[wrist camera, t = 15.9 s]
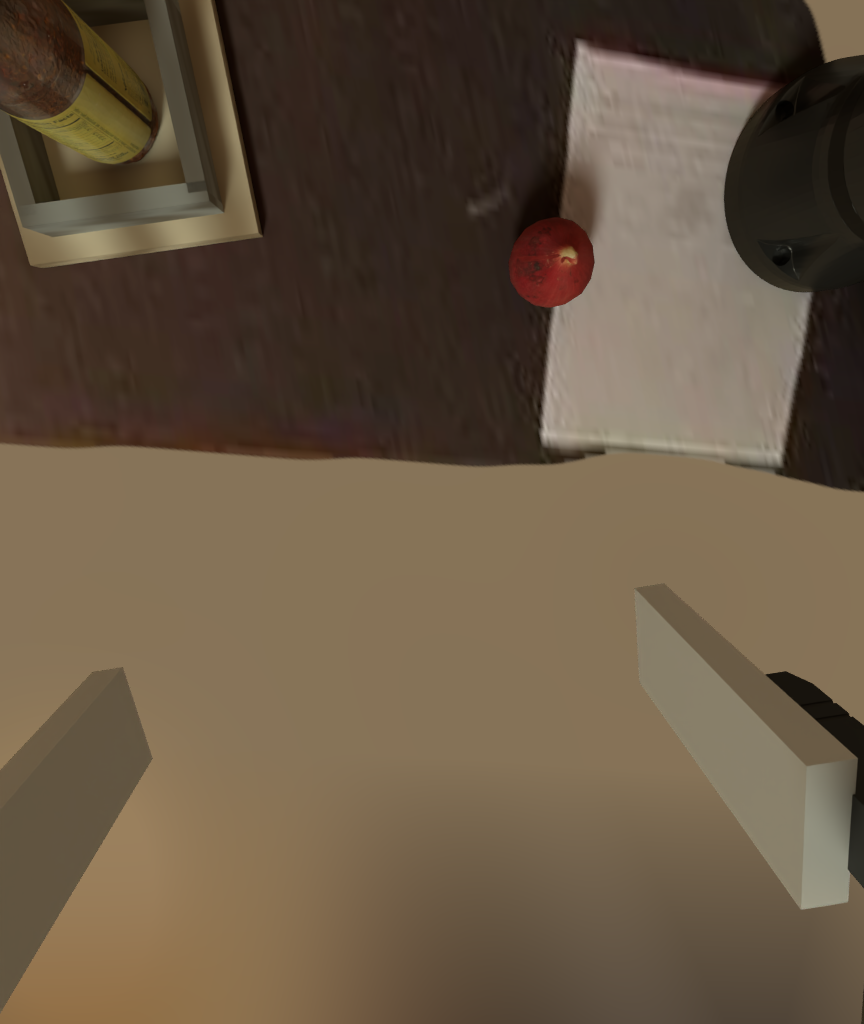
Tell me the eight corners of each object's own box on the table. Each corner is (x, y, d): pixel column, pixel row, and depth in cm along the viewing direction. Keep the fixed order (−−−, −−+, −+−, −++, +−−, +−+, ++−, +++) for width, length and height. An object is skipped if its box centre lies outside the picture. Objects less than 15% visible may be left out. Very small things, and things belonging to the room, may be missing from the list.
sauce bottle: (74, 49, 38) (-243, -253, 19) (172, 86, 39) (-37, -166, 20) (57, 157, 40) (-252, -23, 21) (152, 190, 41) (-60, 48, 21)
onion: (506, 316, 46) (530, 310, 38) (495, 237, 44) (517, 213, 37) (580, 302, 46) (618, 292, 38) (570, 222, 44) (608, 195, 37)
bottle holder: (209, -27, 39) (183, -80, 34) (262, 236, 43) (246, 222, 38) (-37, 5, 38) (-98, -44, 34) (42, 268, 43) (-2, 257, 38)
